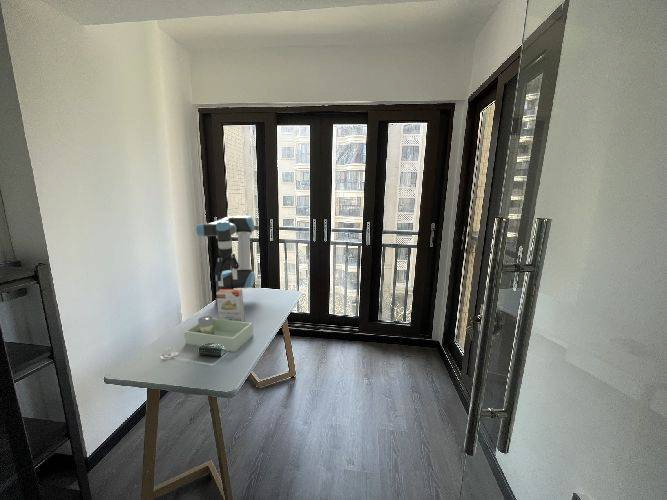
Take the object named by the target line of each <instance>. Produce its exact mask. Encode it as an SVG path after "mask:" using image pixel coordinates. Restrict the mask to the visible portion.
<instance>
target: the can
mask: <svg viewBox="0 0 667 500" xmlns="http://www.w3.org/2000/svg"><path fill="white" fill-rule="evenodd" d="M212 318H213V316H212V315H205V316H202V317H201V316H200V317H199V318H198V319H197V321H198V323H199V331H200V333H204V334H210V335H214V327H213V319H212Z"/></svg>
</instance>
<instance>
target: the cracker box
mask: <svg viewBox="0 0 667 500" xmlns="http://www.w3.org/2000/svg"><path fill="white" fill-rule="evenodd" d="M215 293H216V296H217V305H216V306H217V311H218V312H217V314H218V315H217V316H218V319H224V320H232V321H240V322H245V319H246V318H245V308H244V296H243V288H234V289H220V290H219V291H218V292H217V291H216V292H215Z"/></svg>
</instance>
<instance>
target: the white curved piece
mask: <svg viewBox="0 0 667 500" xmlns="http://www.w3.org/2000/svg"><path fill="white" fill-rule="evenodd" d="M164 352H165V354H161V355H160V359H161V360H170V359H173V358H175V357H178V356H179V354H180V353H179V352H177V351H175V352H173V346H167V347H165V348H164ZM165 355H166V358H165V357H164V356H165Z"/></svg>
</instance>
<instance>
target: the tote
mask: <svg viewBox="0 0 667 500" xmlns="http://www.w3.org/2000/svg"><path fill="white" fill-rule="evenodd" d="M212 319H213V327H214V335H210V334H204V333H200V331H199V322H198V323H196V324H194V325H193V326H191V327H189V328H187V329H186V330H184V331H183V333H184V340H185V344H186V345H190V346H197V347H202V345H204V344H206V343H216V344H221V345H223V346H224V348H225V350H224V351H227V352H228V353H236V352H237V351H238V350H239V349H240V348H241V347H242V346H244V345H245V344H246V343H247V342H248V341H250V339H251V338H253V336H254V325H253V322H246V321H244V322H240V321H232V320H224V319H219V318H216V317H215V318H213V317H212Z"/></svg>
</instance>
